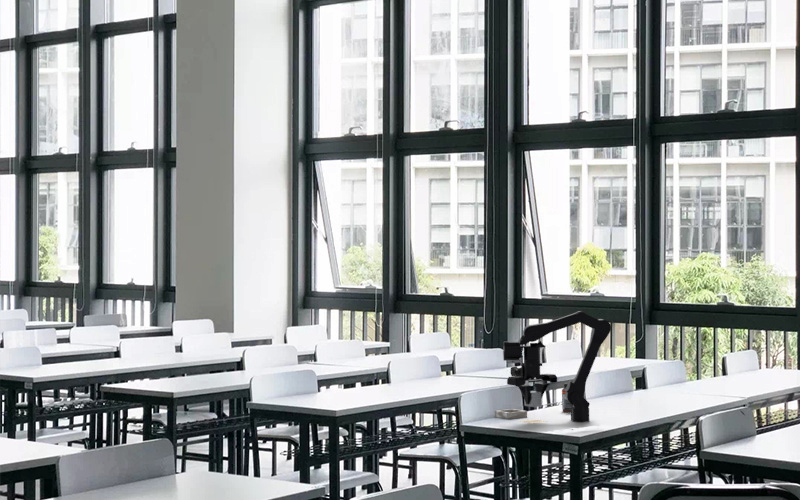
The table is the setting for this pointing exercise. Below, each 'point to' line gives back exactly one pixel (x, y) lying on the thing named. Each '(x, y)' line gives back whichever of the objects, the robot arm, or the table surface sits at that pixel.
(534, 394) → the grey angular block
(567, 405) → the supplement bottle
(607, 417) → the table surface
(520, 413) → the rack board
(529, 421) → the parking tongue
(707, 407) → the table surface
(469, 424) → the table surface
